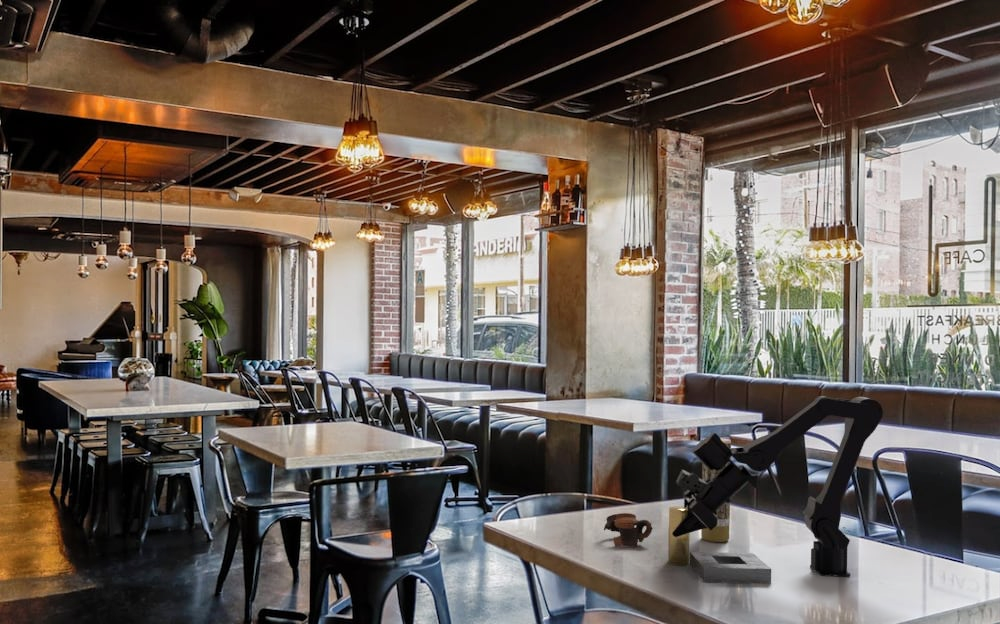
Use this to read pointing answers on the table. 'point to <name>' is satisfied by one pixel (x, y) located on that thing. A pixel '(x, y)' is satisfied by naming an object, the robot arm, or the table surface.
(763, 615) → the table surface
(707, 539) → the bark covered log
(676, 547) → the brass cylinder
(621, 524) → the pottery mug
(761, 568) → the jig plate
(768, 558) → the table surface
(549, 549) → the table surface
